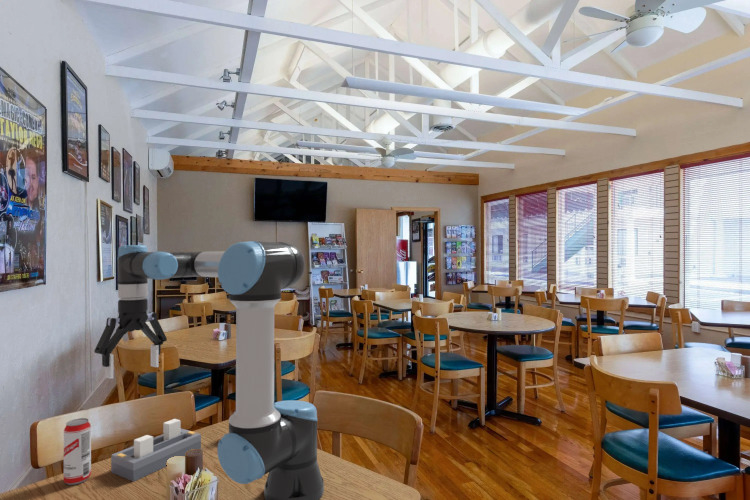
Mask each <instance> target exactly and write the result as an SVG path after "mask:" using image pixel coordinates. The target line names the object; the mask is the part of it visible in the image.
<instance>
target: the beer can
mask: <svg viewBox="0 0 750 500" xmlns="http://www.w3.org/2000/svg"><path fill="white" fill-rule="evenodd" d="M65 424H66V425H65V427H64V429H63V482H64V483H65V484H66V485H69V486H74V485H79V484H82V483H84V482H86V481H87V480H88V479H89V478H90V477H91V475H92V427H91V426H92V425H91V423H90V422H89V419H88V418H87V417H86V418H85V417H79V418H74V419H72V420H69V421H67V422H66V423H65Z"/></svg>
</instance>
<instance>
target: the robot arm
mask: <svg viewBox="0 0 750 500" xmlns="http://www.w3.org/2000/svg"><path fill="white" fill-rule="evenodd" d="M117 252H118V253H117V287H118V288H117V294H118V295H117V298H119V299H118V301H117V312H118V317H117V318H116V317H107V318H106V323H105V324H106V325H105V327H104V329H103V331H102V334H101V336H100V338H99V340H98V342H97V345H96V346H95V349H94V354H98V355H101V365H102V367H104V378H106V379H109V380H111V379H114V372H115V371H114V365H115V364H114V363H115V362H114V353H113V354H112V352H113V351H114V350H115V348H116V347H117V345H118V344H119V342H120V341H121V340H122V338H123V337H124V336H125V335H126V334H127V333H129V332H130V333H131V332H134V331H141V332H142V333H143V334H144V335H145V336H146V337H147V339H149V340H150V342H151V343H152V344H150V367H153V368H159V360H160V359H159V357H160V356H161V349H162V348H161V346H162V345H163V344H164V342H167V341H168V338H167V336H166V334H165V332H164V329H163V328H162V326H161V324H160V321H159V320H158V313H157V312H154V311H153V312H152V311H150V312H148V313H147V311H148V307H149V305H148V300H149V299H147V297H148V295H149V294H148V293H149V292H148V291H149V288H148V287H149V286H148V280H149V279H151V280H155V281H159V280H167V279H174V278H175V279H176V278H177V279H178V278H192V277H193V278H194V277H198V278H199V277H200V278H218V281H219V284H220V285H221V288H222V290H224V291H225V292H226V293H228V294H229V297H228V300H229V302H230V303H231V304H232V305H233V306H234V307H235V313H236V315H235V316H236V317H235V319H236V320H235V323H236V325H235V329H236V330H235V337H236V338H235V348H236V349H235V410H236V412H235V413H234V412H233V413H232V414H231V415H230V416H229V418H228V432H227V433H225V434H224V435H223V436H222V437H221V439H220V440H219V441H218V443H217V451H216V452H217V458H218V462H219V464H220V466H221V467H220V468H222V470H223V471H224V473H225V474H226V475H227V477H228V478H229V479H230V480H232V481H234V482H235V483H237V484H241V485H247V484H251V483H252V482H254V481H256V480H260V479H262V478H263V476H266V475H267V479H266V481H265V484H264V489H263V490H264V491H263V492H264V493H263V495H264V499H265V500H320V499H321V498H322V497H323V494H324V493H325V486H324V485H325V482H324V478H323V476H322V474H321V470H320V466H319V462H318V421H319V419H318V411H317V408H316V406H315V405H314V404H313V403H311V402H309V401H303V400H295V399H294V400H292V399H290V400H289V399H288V400H279V401H276V402H275V307H276V305H277V304H278V303H279V302H280V301H281V300H282V290H283V289H288V288H291V287H294V285H296V284H298V283H299V281H300V280H301V279H302V278H303V276H304V275H305V270H306V261H305V260H306V259H305V256H304V255H303V252H302V251H301V250H300V249H299V248H298V247H296V246H295V245H293V244H292V243H288V242H282V241H280V242H279V241H277V242H274V241H256V240H250V241H239V242H236V243H233V244H231V245H230V246H229V247H227V249H226V251H222V250H221V251H148V247H147V245H144V244H140V245H138V244H121V245H120V246H119V247H118V251H117ZM147 321H149V324H150V325H148V324H147V323H146V322H147ZM116 326H117V328H116ZM150 326H151V328H152V329H153V330H152V329H151V328H150Z"/></svg>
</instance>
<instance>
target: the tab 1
mask: <svg viewBox="0 0 750 500" xmlns="http://www.w3.org/2000/svg"><path fill="white" fill-rule="evenodd" d="M153 438H154V436H152V435H149V434H145V435H143V436H140V437H137V438H135V439H133V446H134V458H136V459H138V458H141V457H143V456H145V455H148V454H150V453H153Z"/></svg>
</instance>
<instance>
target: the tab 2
mask: <svg viewBox="0 0 750 500" xmlns="http://www.w3.org/2000/svg"><path fill="white" fill-rule="evenodd" d="M181 422H182V421H181V420H180V419H177V418H173V419H170V420H168V421H164V422H163V429H162V432H163V433H162V434H163V441H166V440H168V439H171V438H173V437H175V436H178V435H180V434H181V428H182V427H181V426H182V425H181V424H182V423H181Z"/></svg>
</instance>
